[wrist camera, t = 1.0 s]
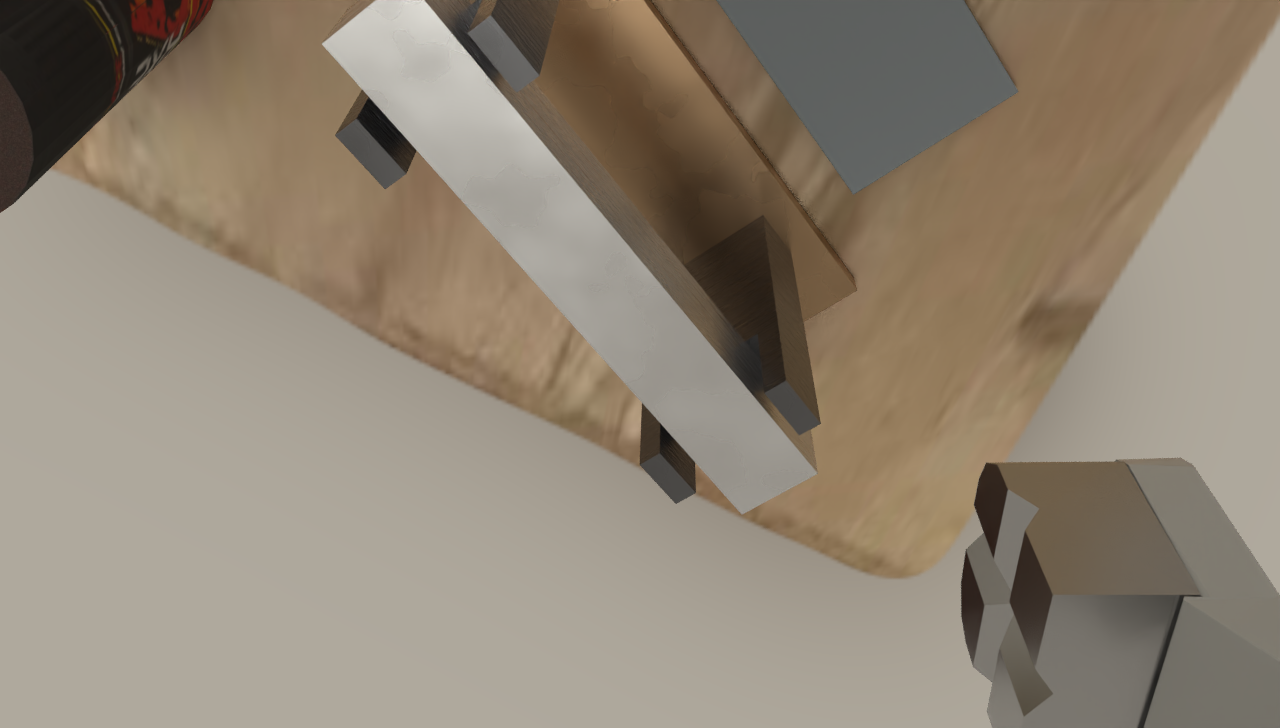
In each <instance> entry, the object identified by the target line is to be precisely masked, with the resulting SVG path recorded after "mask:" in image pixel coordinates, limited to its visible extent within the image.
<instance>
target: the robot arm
mask: <svg viewBox="0 0 1280 728" xmlns="http://www.w3.org/2000/svg"><path fill="white" fill-rule="evenodd" d="M974 507H975V509H976V512H977V515H978V518H979V520H980V523H981V526H982V529H983V532H984V533H983V534H982V535H981V536H980V537H979V538H978V539H977V540H975V541H974V542H973V543H972V544H971V545H970V546H969V547H968V548H967V549H966V552H965V559H964V567H963V573H962V580H961V617H962V623H963V629H964V635H965V641H966V644H967V648H968V651H969V655H970V658H971V661H972V665H973V667H974V668H975V669H976V670H978V671H979V672H980V673H981V674H982V675H984V676H985V677H986V678H988V679H989V680H990V681H991V682H992V689H991V693H990V698H989V703H988V708H987V713H988V716H989V719H990V722H991V725H992V728H1280V595H1279V593H1278V592H1277V591H1276V589H1275V587H1274V586H1273V584H1272V583H1271V582H1270V580H1269V578H1268V577H1267V575H1266V574H1265V572H1264V571H1263V569H1262V568H1261V567H1260V565H1259V564H1258V562H1257V560H1256V559H1255V557H1254V556H1253V554H1252V553H1251V551H1250V550H1249V548H1248V547H1247V545H1246V544H1245V542H1244V541H1243V539H1242V538H1241V536H1240V535H1239V533H1238V532H1237V530H1236V529H1235V527H1234V526H1233V524H1232V523H1231V521H1230V520H1229V518H1228V517H1227V515H1226V514H1225V512H1224V511H1223V509H1222V508H1221V506H1220V505H1219V503H1218V502H1217V500H1216V499H1215V497H1214V496H1213V494H1212V493H1211V491H1210V490H1209V488H1208V486H1207V485H1206V484H1205V482H1204V481H1203V479H1202V478H1201V476H1200V474H1199V473H1198V471H1197V470H1196V468H1195V467H1194V466H1193V465H1192V464H1191V463H1189V462H1187V461H1185V460H1184V459H1182V458H1162V459H1161V458H1158V459H1124V460H1116V461H1115V462H1018V463H1016V462H1013V463H1011V462H1007V463H986V464H985V466H984V469H983V471H982V473H981V475H980V478H979V481H978V486H977V491H976V497H975V502H974Z"/></svg>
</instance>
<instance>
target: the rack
mask: <svg viewBox="0 0 1280 728" xmlns="http://www.w3.org/2000/svg"><path fill="white" fill-rule="evenodd" d="M468 1H469V2H470V3H471V4H472V6H473V7H474V8H475V9H476V11H477V13H476V15H475V17H474V19H473V22H472V24H471V26H470V28H469V31H468V35H469V36H470V37H471V38H472V39H473V41H474V42H475V43H476V44H477V46H478V47H479V48H480V49H481V50H482V52H483V53H484V54H485V55H486V56H487V58H488V59H489V60H490V61H491V63H492V64H493V65H494V66H495V67H496V69H497V70H498V71H499V72H500V73H501V75H502V76H503V77H504V78H505V80H506V81H507V82H508V83H509V84H510V86H511V87H512V88H513V89H514V90H515V92H516V93H517V92H518V91H520V90H521V89H522V88H524V87H525V86H526V85H528V84H529V83H530V82H532V81H534V82H535V83H536V84H537V86H538V87H539V88H540V89H541V91H542V92H543V93H544V94H545V95H546V97H547V98H548V99H549V100H550V102H551V103H552V104H553V105H554V107H555V108H556V109H557V110H558V111H559V113H560V114H561V115H562V116H563V118H564V119H565V120H566V121H567V123H568V124H569V125H570V126H571V127H572V129H573V130H574V131H575V132H576V134H577V135H578V136H579V137H580V139H581V140H582V141H583V142H584V143H585V145H586V146H587V147H588V148H589V150H590V151H591V152H592V153H593V155H594V156H595V157H596V158H597V159H598V161H599V162H600V163H601V164H602V166H603V167H604V168H605V169H606V171H607V172H608V173H609V174H610V175H611V177H612V178H613V179H614V180H615V182H616V183H617V184H618V185H619V187H620V188H621V189H622V190H623V191H624V193H625V194H626V195H627V196H628V198H629V199H630V200H631V201H632V203H633V204H634V205H635V206H636V207H637V209H638V210H639V211H640V212H641V214H642V215H643V216H644V217H645V219H646V220H647V221H648V222H649V223H650V225H651V226H652V227H653V228H654V230H655V231H656V232H657V233H658V235H659V236H660V237H661V238H662V239H663V241H664V242H665V243H666V244H667V246H668V247H669V248H670V249H671V251H672V252H673V253H674V254H675V255H676V257H677V258H678V259H679V260H680V262H681V263H682V264H683V265H684V267H685V268H686V269H687V270H688V271H689V273H690V274H691V275H692V276H693V278H694V279H695V280H696V281H697V283H698V284H699V285H700V286H701V287H702V289H703V290H704V291H705V292H706V294H707V295H708V296H709V297H710V299H711V300H712V301H713V302H714V303H715V305H716V306H717V307H718V308H719V310H720V311H721V312H722V313H723V315H724V316H725V317H726V318H727V319H728V321H729V322H730V323H731V324H732V326H733V327H734V328H735V329H736V331H737V332H738V333H739V334H740V335H741V337H742V338H743V339H744V340H745V342H746V343H747V344H748V345H749V347H750V348H751V349H752V350H753V351H754V353H755V354H756V355H757V356H758V358H759V359H760V360H761V368H762V377H763V386H764V394H765V395H766V396H767V397H768V398H769V400H770V401H771V402H772V403H773V405H774V406H775V407H776V408H777V409H778V411H779V412H780V413H781V414H782V415H783V417H784V418H785V419H786V420H787V421H788V423H789V424H790V425H791V426H792V428H793V429H794V430H795V431H796V432H797V434H798V435H801V434H803V433H805V432H807V431H808V430H810V429H812V428H814V427H816V426H817V425H819V424H821V422H820V417H819V411H818V405H817V399H816V393H815V388H814V382H813V376H812V370H811V364H810V359H809V353H808V347H807V341H806V335H805V330H804V324H803V322H804V321H806V320H808V319H809V318H811V317H813V316H814V315H816V314H818V313H820V312H821V311H823V310H825V309H826V308H828V307H830V306H831V305H833V304H835V303H836V302H838V301H840V300H842V299H843V298H845V297H847V296H848V295H850V294H852V293H853V292H855V291H857V288H856V284H855V280H854V277H853V276H852V275H851V273H850V272H849V271H848V269H847V268H846V266H845V265H844V264H843V262H842V261H841V260H840V258H839V257H838V256H837V254H836V253H835V251H834V250H833V249H832V247H831V246H830V245H829V243H828V242H827V241H826V239H825V238H824V236H823V235H822V234H821V232H820V231H819V230H818V228H817V227H816V226H815V224H814V223H813V221H812V220H811V219H810V217H809V216H808V215H807V213H806V212H805V211H804V209H803V208H802V206H801V205H800V204H799V202H798V201H797V200H796V198H795V197H794V196H793V194H792V193H791V191H790V190H789V189H788V187H787V186H786V185H785V183H784V182H783V181H782V179H781V178H780V176H779V175H778V174H777V172H776V171H775V170H774V168H773V167H772V166H771V164H770V163H769V161H768V160H767V159H766V157H765V156H764V155H763V153H762V152H761V151H760V149H759V148H758V146H757V145H756V144H755V142H754V141H753V140H752V138H751V137H750V136H749V134H748V133H747V131H746V130H745V129H744V127H743V126H742V125H741V123H740V122H739V121H738V119H737V118H736V116H735V115H734V114H733V112H732V111H731V110H730V108H729V107H728V106H727V104H726V103H725V101H724V100H723V99H722V97H721V96H720V95H719V93H718V92H717V91H716V89H715V88H714V86H713V85H712V84H711V82H710V81H709V80H708V78H707V77H706V76H705V74H704V73H703V71H702V70H701V69H700V67H699V66H698V65H697V63H696V62H695V61H694V59H693V58H692V56H691V55H690V54H689V52H688V51H687V50H686V48H685V47H684V46H683V44H682V43H681V41H680V40H679V39H678V37H677V36H676V35H675V33H674V32H673V31H672V29H671V28H670V26H669V25H668V24H667V22H666V21H665V20H664V18H663V17H662V16H661V14H660V13H659V12H658V10H657V9H656V7H655V6H654V5H653V3H652V2H651V1H650V0H468ZM335 136H336V137H337V138H338V139H339V140H340V141H341V142H342V143H343V144H344V145H345V146H346V148H347V149H348V150H349V151H350V152H351V153H352V154H353V155H354V156H355V157H356V158H357V159H358V160H359V162H360V163H361V164H362V165H363V166H364V167H365V168H366V169H367V170H368V171H369V172H370V173H371V175H372V176H373V177H374V178H375V179H376V180H377V181H378V182H379V183H380V184H381V185H382V186H383V188H384V189H386V188H388V187H389V186H390V185H392V184H393V183H394V182H396V181H397V180H399V179H400V178H401V177H403V176H404V175H405V174H406V173H407V171H408V169H409V166H410V164H411V162H412V160H413V157H414V155H415V153H416V149H415V148H414V147H413V146H412V144H411V143H410V142H409V141H408V140H407V139H406V138H405V137H404V135H403V134H402V133H401V132H400V131H399V130H398V129H397V128H396V127H395V125H394V124H393V123H392V122H391V121H390V120H389V119H388V118H387V116H386V115H385V114H384V113H383V112H382V111H381V110H380V109H379V107H378V106H377V105H376V104H375V103H374V102H373V101H372V100H371V99H370V97H369V96H368V95H367V94H366V93H365V92H364V91H363V90H362V91H361V93H360V94H359V96H358V98H357V99H356V101H355V103H354V104H353V106H352V108H351V109H350V111H349V113H348V114H347V116H346V118H345V119H344V121H343V123H342V125H341V126H340V128H339V130H338V131H337V133H336V135H335ZM640 466H641V467H642V468H643V469H644V470H645V471H646V472H647V473H648V474H649V475H650V476H651V478H652V479H653V480H654V481H655V482H656V483H657V484H658V485H659V486H660V487H661V488H662V489H663V490H664V492H665V493H666V494H667V495H668V496H669V497H670V498H671V499H672V500H673V501H674V502H675V503H676V504H677V503H678V502H680V501H682V500H684V499H685V498H687V497H689V496H691V495H693V494H695V493H696V484H695V461H694V460H693V459H692V458H691V457H690V456H689V455H688V454H687V452H686V451H685V450H684V449H683V448H682V447H681V446H680V445H679V443H678V442H677V441H676V440H675V439H674V438H673V437H672V436H671V435H670V433H669V432H668V431H667V430H666V429H665V428H664V427H663V426H662V424H661V423H660V422H659V421H658V420H657V419H656V418H655V417H654V415H653V414H652V413H651V412H650V411H649V410H648V409H647V408H646V407H645V405H644V404H643V403H642V418H641V445H640Z"/></svg>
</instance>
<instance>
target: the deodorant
mask: <svg viewBox="0 0 1280 728" xmlns="http://www.w3.org/2000/svg"><path fill="white" fill-rule="evenodd" d="M212 2H213V0H0V213H1V212H2V211H4V210H5V209H7V208H8V207H9V206H11V205H12V204H14V202H16V201H17V200H18V199H19V198H20V197H21V196H22V195H23V194H24V193H25V192H26V191H27V190H28V189H29V188H30V187H31V186H32V185H33V184H34V183H35V182H36V181H37V180H38V179H39V178H40V177H41V176H43V175H44V174H45V173H46V172H47V171H48V170H49V169H50V168H51V167H52V166H53V165H54V164H55V163H56V162H57V161H58V160H59V159H60V158H61V157H62V156H63V155H64V154H65V153H66V152H67V151H68V150H70V149H71V148H72V147H73V146H74V145H75V144H76V143H77V142H78V141H79V140H80V139H81V138H82V137H83V136H84V135H85V134H86V133H87V132H88V131H89V130H90V129H91V128H92V127H93V126H94V125H95V124H96V123H97V122H99V121H100V120H101V119H102V118H103V117H104V116H105V115H106V114H107V113H108V112H109V111H110V110H111V109H112V108H113V107H114V106H115V105H116V104H117V103H118V102H119V101H120V100H121V99H122V98H123V97H124V96H125V95H126V94H127V93H129V92H130V91H131V90H132V89H133V88H134V87H135V86H136V85H137V84H138V83H139V82H140V81H141V80H142V79H143V78H144V77H145V76H146V75H147V74H148V73H149V72H150V71H151V70H152V69H153V68H154V67H155V66H156V65H158V64H159V63H160V62H161V61H162V60H163V59H164V58H165V57H166V56H167V55H168V54H169V53H170V52H171V51H172V50H173V49H174V48H175V47H176V46H177V45H178V44H179V43H180V42H181V41H182V40H183V39H184V38H185V37H186V36H188V35H189V34H190V33H191V32H192V31H193V30H194V29H195V28H196V27H197V26H198V25H199V24H200V22H201V21H202V20H203V18H204V17H205V16H206V14H207V13H208V11H209V10H210V8H211V5H212Z"/></svg>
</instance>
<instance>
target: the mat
mask: <svg viewBox="0 0 1280 728" xmlns="http://www.w3.org/2000/svg"><path fill="white" fill-rule="evenodd" d="M717 2H718V3H719V4H720V6H721V7H722V9H723V10H724V12H725V13H726V14H727V16H728V17H729V19H730V20H731V22H732V23H733V24H734V26H735V27H736V29H737V30H738V31H739V33H740V34H741V36H742V37H743V39H744V40H745V41H746V43H747V44H748V46H749V47H750V48H751V50H752V51H753V53H754V54H755V56H756V57H757V58H758V60H759V61H760V63H761V64H762V65H763V67H764V68H765V70H766V71H767V73H768V74H769V75H770V77H771V78H772V80H773V81H774V83H775V84H776V85H777V87H778V88H779V90H780V91H781V92H782V94H783V95H784V97H785V98H786V100H787V101H788V102H789V104H790V105H791V107H792V108H793V109H794V111H795V112H796V114H797V115H798V117H799V118H800V119H801V121H802V122H803V124H804V125H805V127H806V128H807V129H808V131H809V132H810V134H811V135H812V136H813V138H814V139H815V141H816V142H817V144H818V145H819V146H820V148H821V149H822V151H823V152H824V153H825V155H826V156H827V158H828V159H829V161H830V162H831V163H832V165H833V166H834V168H835V169H836V170H837V172H838V173H839V175H840V176H841V178H842V179H843V180H844V182H845V183H846V185H847V186H848V188H849V189H850V190H851V192H852V193H853V195H854V194H855V193H857V192H858V191H860V190H862V189H863V188H865V187H866V186H868V185H870V184H871V183H873V182H874V181H876V180H878V179H879V178H881V177H882V176H884V175H886V174H887V173H889V172H890V171H892V170H894V169H895V168H897V167H899V166H900V165H902V164H903V163H905V162H907V161H908V160H910V159H911V158H913V157H915V156H916V155H918V154H919V153H921V152H923V151H924V150H926V149H927V148H929V147H931V146H932V145H934V144H935V143H937V142H939V141H940V140H942V139H944V138H945V137H947V136H948V135H950V134H952V133H953V132H955V131H956V130H958V129H960V128H961V127H963V126H964V125H966V124H968V123H969V122H971V121H972V120H974V119H976V118H977V117H979V116H980V115H982V114H984V113H985V112H987V111H989V110H990V109H992V108H993V107H995V106H997V105H998V104H1000V103H1001V102H1003V101H1005V100H1006V99H1008V98H1009V97H1011V96H1013V95H1014V94H1016V93H1017V92H1018V90H1017V88H1016V87H1015V85H1014V83H1013V82H1012V80H1011V78H1010V77H1009V75H1008V73H1007V72H1006V70H1005V68H1004V67H1003V65H1002V63H1001V62H1000V60H999V58H998V57H997V55H996V53H995V52H994V50H993V48H992V47H991V45H990V43H989V42H988V40H987V38H986V37H985V35H984V33H983V32H982V30H981V28H980V26H979V25H978V23H977V21H976V20H975V18H974V16H973V15H972V13H971V11H970V10H969V8H968V6H967V5H966V3H965V1H964V0H717Z"/></svg>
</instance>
